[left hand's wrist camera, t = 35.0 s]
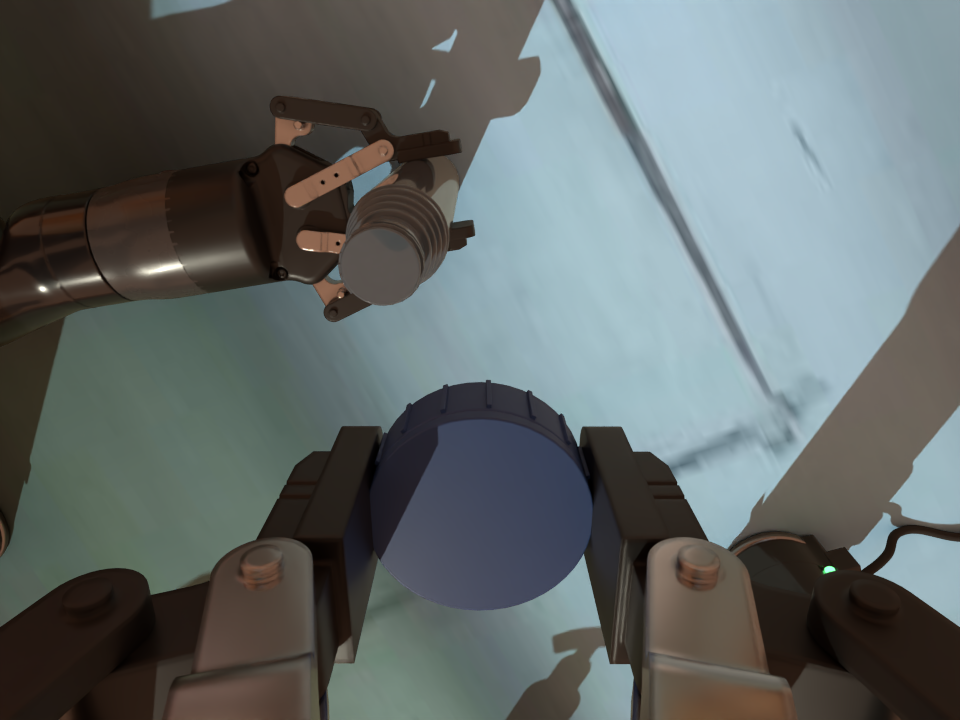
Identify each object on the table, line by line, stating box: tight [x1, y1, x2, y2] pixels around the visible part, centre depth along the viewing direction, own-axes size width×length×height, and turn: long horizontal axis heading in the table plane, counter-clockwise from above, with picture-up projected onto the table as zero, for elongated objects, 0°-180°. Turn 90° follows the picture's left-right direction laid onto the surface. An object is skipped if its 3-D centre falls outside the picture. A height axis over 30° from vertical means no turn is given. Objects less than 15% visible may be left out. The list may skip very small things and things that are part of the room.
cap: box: [369, 380, 593, 610], centre depth 12 cm, size 4×4×2 cm
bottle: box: [338, 156, 459, 305], centre depth 33 cm, size 4×4×25 cm
